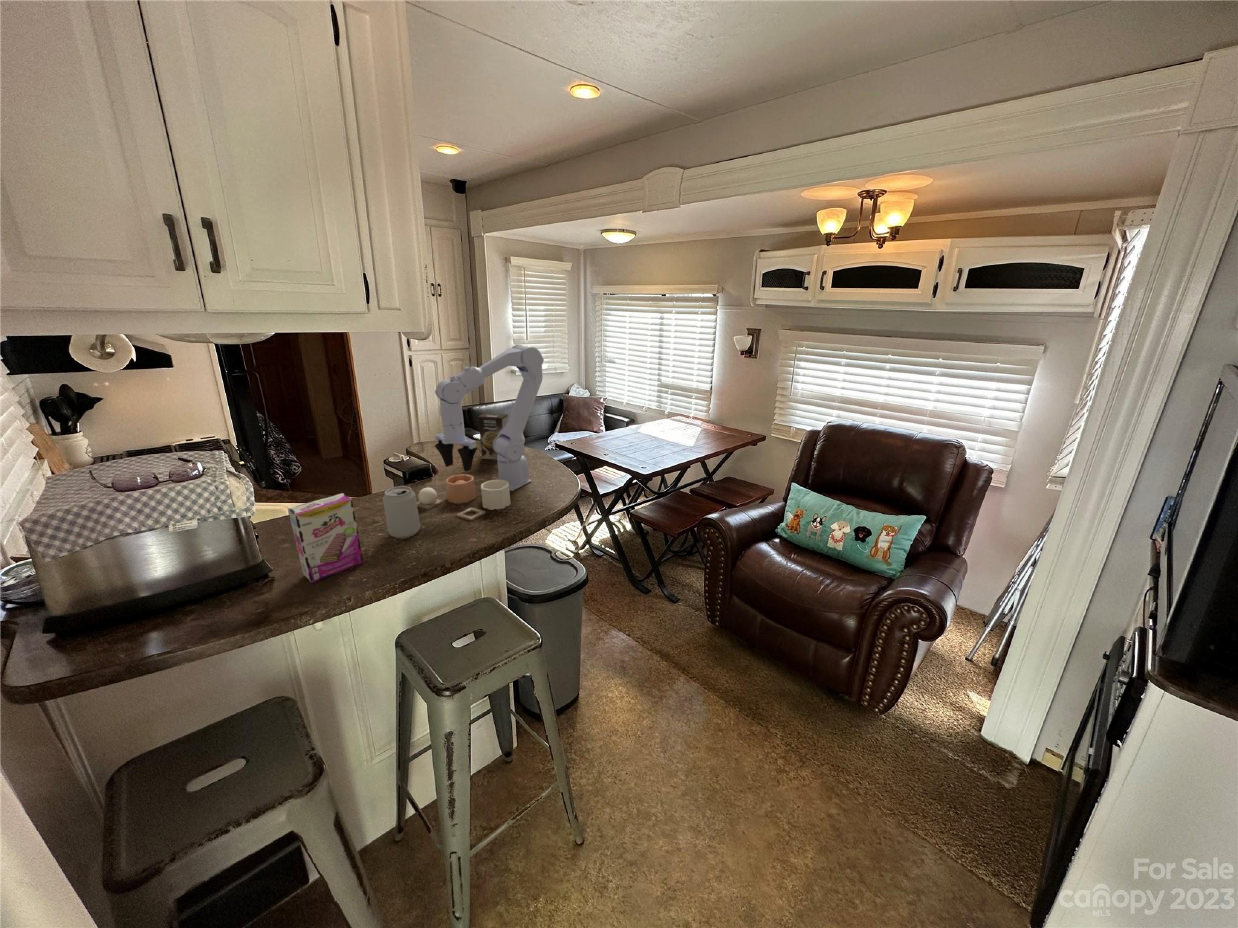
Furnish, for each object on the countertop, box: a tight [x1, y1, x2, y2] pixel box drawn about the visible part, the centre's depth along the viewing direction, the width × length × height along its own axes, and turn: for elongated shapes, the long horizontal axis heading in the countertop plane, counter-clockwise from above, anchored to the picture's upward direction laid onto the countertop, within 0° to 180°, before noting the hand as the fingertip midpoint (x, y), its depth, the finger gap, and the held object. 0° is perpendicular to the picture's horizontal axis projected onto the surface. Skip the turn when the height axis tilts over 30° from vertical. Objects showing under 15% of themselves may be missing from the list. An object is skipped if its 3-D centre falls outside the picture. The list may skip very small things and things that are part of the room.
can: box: [382, 485, 421, 539], centre depth 121 cm, size 8×8×12 cm
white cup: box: [480, 479, 512, 511], centre depth 139 cm, size 8×8×6 cm
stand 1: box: [416, 498, 444, 510], centre depth 139 cm, size 5×5×1 cm
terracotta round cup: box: [445, 473, 476, 504], centre depth 143 cm, size 8×8×6 cm
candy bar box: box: [287, 492, 364, 584], centre depth 104 cm, size 11×5×16 cm, turn 140°
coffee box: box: [477, 412, 509, 460], centre depth 176 cm, size 9×6×16 cm
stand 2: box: [456, 507, 486, 522], centre depth 133 cm, size 5×5×1 cm
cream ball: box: [418, 487, 438, 505], centre depth 138 cm, size 5×5×5 cm
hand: (458, 467), depth 140 cm, fingers open, 7 cm apart
